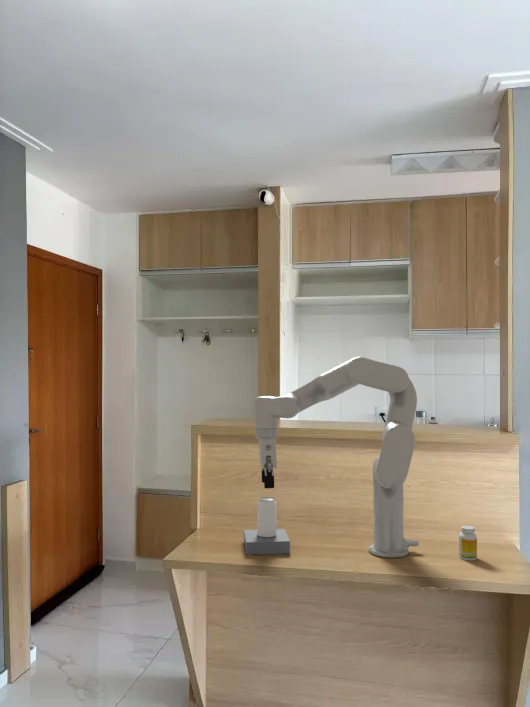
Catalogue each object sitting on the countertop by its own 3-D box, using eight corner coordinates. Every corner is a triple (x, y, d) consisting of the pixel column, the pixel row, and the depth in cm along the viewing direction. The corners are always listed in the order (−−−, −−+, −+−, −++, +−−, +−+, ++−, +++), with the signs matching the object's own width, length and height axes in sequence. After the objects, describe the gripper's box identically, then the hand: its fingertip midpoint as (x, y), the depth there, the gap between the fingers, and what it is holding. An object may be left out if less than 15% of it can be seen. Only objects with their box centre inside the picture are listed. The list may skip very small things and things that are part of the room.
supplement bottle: (455, 556, 183) (455, 525, 183) (470, 554, 184) (470, 524, 184) (465, 561, 177) (465, 530, 177) (480, 560, 179) (480, 528, 179)
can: (274, 538, 187) (275, 501, 188) (255, 537, 188) (255, 500, 189) (277, 532, 194) (278, 497, 194) (258, 531, 195) (259, 496, 195)
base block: (284, 540, 199) (284, 528, 199) (290, 553, 185) (290, 541, 185) (243, 541, 197) (243, 529, 197) (246, 555, 183) (246, 542, 183)
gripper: (280, 435, 183) (282, 490, 183) (274, 430, 201) (276, 479, 200) (257, 436, 183) (258, 491, 182) (253, 431, 200) (254, 480, 200)
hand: (267, 485), depth 191 cm, fingers open, 9 cm apart
